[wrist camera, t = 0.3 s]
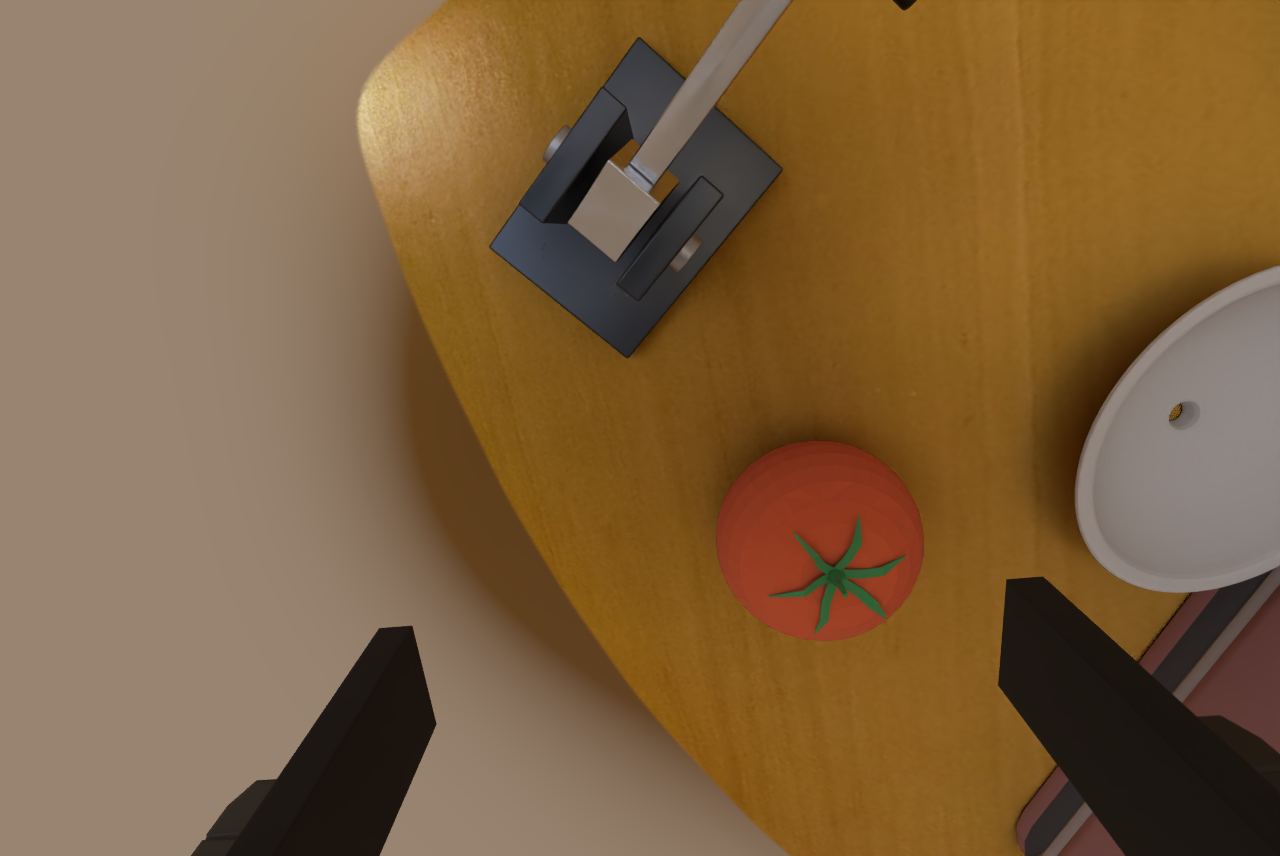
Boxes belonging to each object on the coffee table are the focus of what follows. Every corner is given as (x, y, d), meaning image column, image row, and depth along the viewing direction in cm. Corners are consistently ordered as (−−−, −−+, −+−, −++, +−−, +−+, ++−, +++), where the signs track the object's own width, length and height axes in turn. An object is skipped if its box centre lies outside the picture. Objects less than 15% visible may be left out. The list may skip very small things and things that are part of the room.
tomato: (791, 609, 40) (834, 730, 30) (672, 503, 38) (678, 597, 28) (922, 499, 37) (1015, 593, 28) (803, 380, 35) (858, 437, 26)
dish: (1196, 192, 32) (1291, 186, 27) (1394, 344, 34) (1515, 363, 29) (962, 472, 37) (1009, 509, 32) (1148, 590, 39) (1218, 642, 34)
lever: (778, -230, 15) (761, -246, 14) (951, -48, 16) (954, -40, 15) (550, 163, 24) (521, 185, 22) (676, 270, 25) (657, 299, 23)
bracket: (639, 43, 30) (629, -80, 18) (779, 171, 32) (855, 136, 20) (494, 246, 33) (402, 257, 21) (628, 354, 35) (614, 423, 23)
